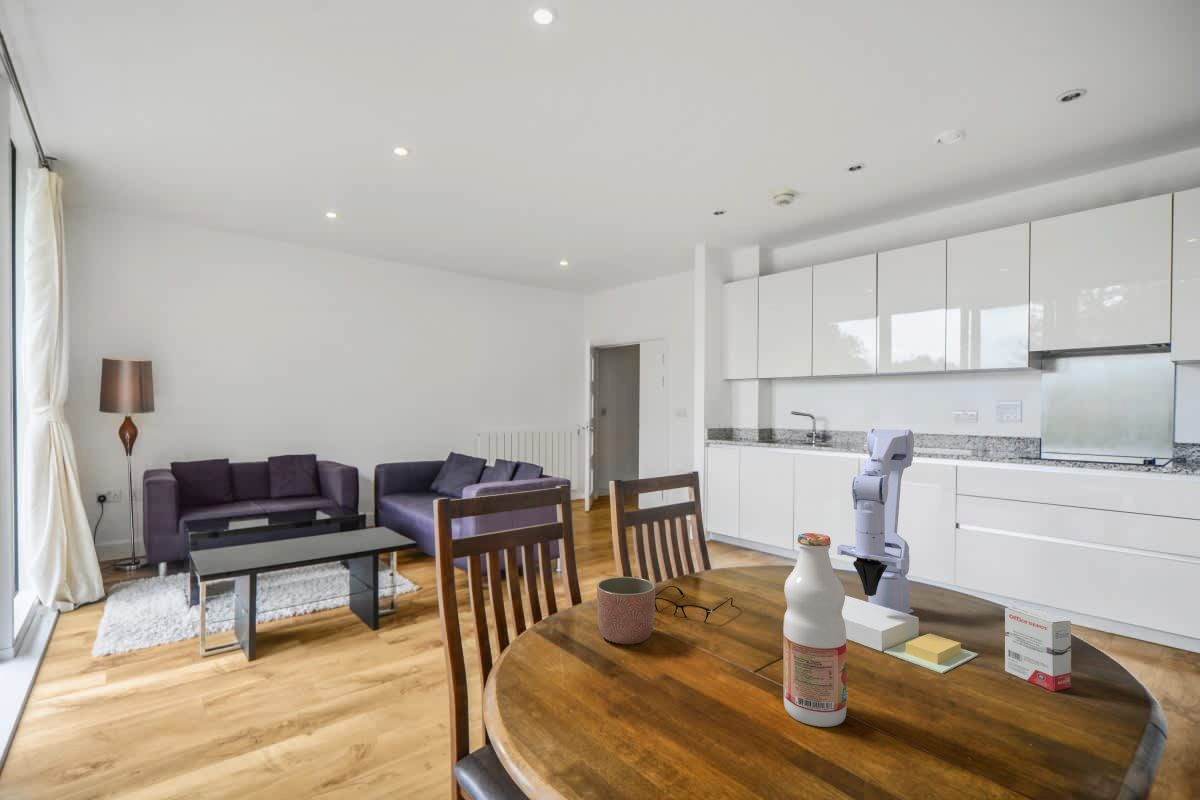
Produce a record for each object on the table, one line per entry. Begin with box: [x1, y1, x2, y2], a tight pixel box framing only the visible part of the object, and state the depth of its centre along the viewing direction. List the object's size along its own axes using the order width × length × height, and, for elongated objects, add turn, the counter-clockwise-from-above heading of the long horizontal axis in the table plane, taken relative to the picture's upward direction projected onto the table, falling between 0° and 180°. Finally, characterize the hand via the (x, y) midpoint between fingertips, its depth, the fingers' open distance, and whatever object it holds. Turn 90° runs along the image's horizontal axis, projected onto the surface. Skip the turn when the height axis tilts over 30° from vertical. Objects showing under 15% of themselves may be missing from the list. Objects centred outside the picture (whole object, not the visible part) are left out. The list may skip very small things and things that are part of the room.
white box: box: [842, 594, 920, 652], centre depth 128 cm, size 14×22×4 cm, turn 34°
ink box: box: [1004, 605, 1072, 692], centre depth 104 cm, size 8×5×12 cm, turn 20°
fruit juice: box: [782, 532, 847, 728], centre depth 92 cm, size 9×9×28 cm
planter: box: [596, 576, 656, 645], centre depth 122 cm, size 12×12×11 cm
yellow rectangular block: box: [906, 632, 962, 665], centre depth 114 cm, size 9×6×2 cm, turn 124°
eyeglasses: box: [655, 585, 734, 623], centre depth 140 cm, size 16×16×4 cm
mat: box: [883, 635, 979, 674], centre depth 114 cm, size 14×11×1 cm
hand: (870, 594), depth 125 cm, fingers closed
